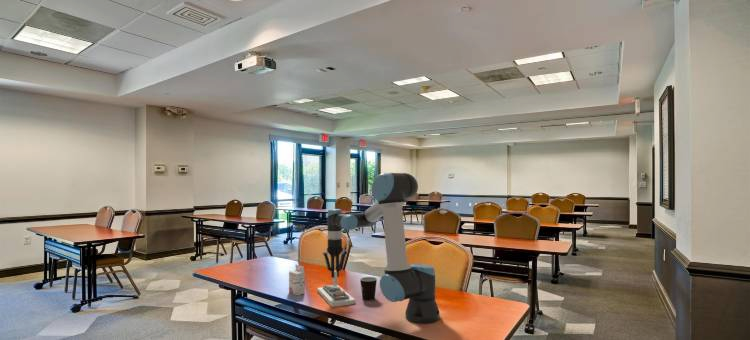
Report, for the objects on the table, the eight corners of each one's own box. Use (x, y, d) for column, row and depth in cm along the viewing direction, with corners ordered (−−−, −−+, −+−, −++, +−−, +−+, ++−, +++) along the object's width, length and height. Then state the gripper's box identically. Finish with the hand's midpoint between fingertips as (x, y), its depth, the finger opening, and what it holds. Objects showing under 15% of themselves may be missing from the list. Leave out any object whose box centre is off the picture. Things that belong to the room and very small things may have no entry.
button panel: (355, 303, 189) (355, 296, 189) (331, 307, 185) (331, 300, 185) (338, 288, 215) (338, 282, 215) (317, 291, 210) (317, 285, 211)
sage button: (336, 289, 206) (336, 286, 206) (327, 290, 204) (327, 287, 204) (334, 287, 211) (334, 284, 211) (325, 288, 209) (325, 285, 209)
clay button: (346, 295, 191) (346, 292, 191) (336, 296, 189) (336, 293, 189) (343, 292, 196) (343, 289, 196) (333, 294, 194) (333, 290, 194)
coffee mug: (375, 301, 192) (374, 281, 192) (358, 300, 194) (358, 280, 194) (379, 294, 204) (379, 275, 204) (363, 293, 205) (363, 275, 206)
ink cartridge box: (288, 292, 209) (288, 265, 209) (296, 290, 213) (295, 264, 213) (297, 295, 203) (297, 268, 204) (305, 293, 207) (305, 266, 207)
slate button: (341, 291, 199) (341, 288, 199) (332, 292, 197) (332, 289, 197) (338, 288, 203) (338, 285, 203) (329, 289, 201) (329, 286, 201)
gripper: (344, 236, 207) (344, 280, 206) (320, 238, 201) (321, 283, 201) (348, 238, 200) (349, 283, 199) (324, 240, 195) (325, 286, 194)
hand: (335, 283), depth 200 cm, fingers closed
